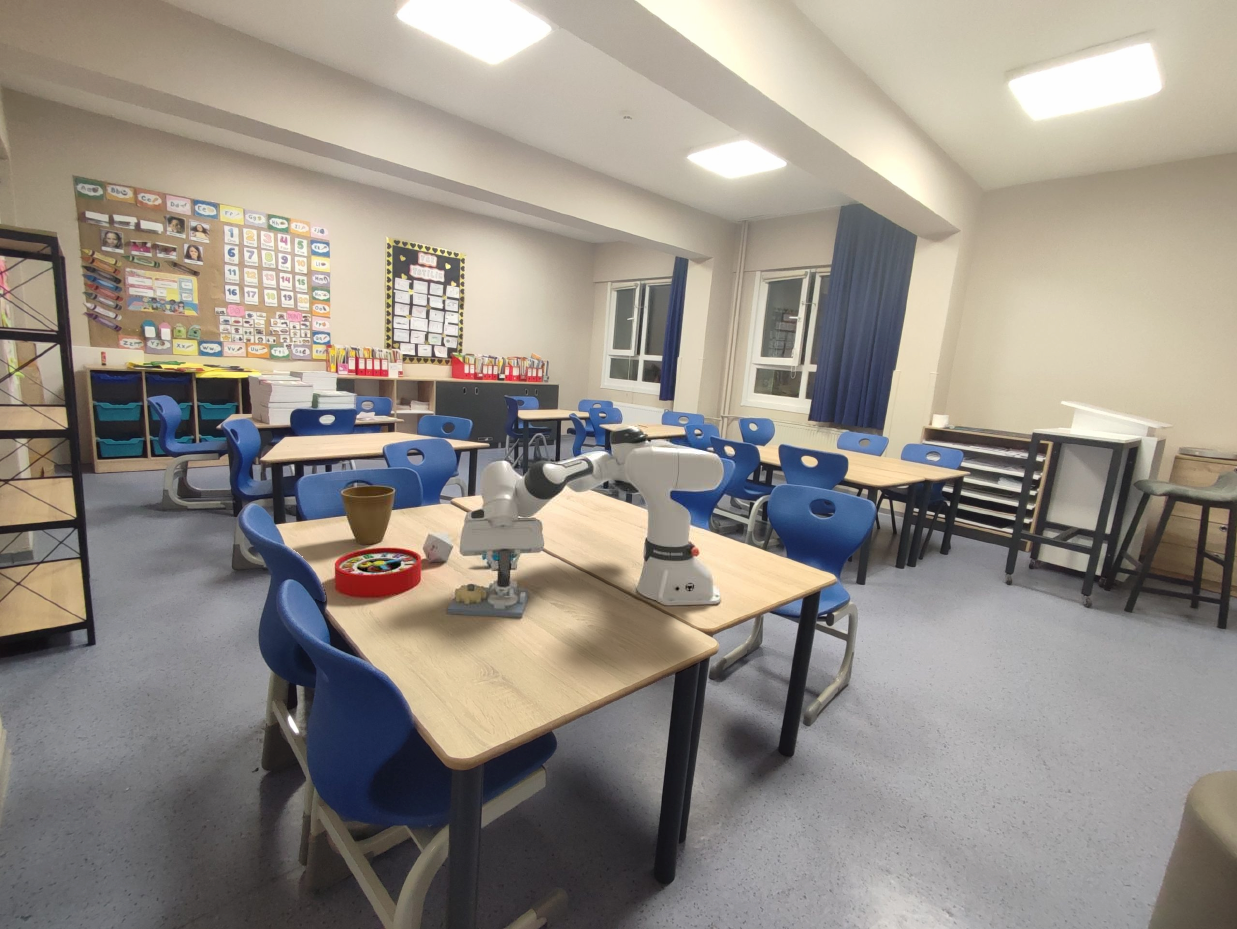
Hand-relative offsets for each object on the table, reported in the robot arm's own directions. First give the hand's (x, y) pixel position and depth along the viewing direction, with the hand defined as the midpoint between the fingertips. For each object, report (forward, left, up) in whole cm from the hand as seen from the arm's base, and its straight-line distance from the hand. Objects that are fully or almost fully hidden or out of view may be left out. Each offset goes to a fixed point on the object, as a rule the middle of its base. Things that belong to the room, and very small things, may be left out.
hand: (504, 569), depth 126 cm
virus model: (+6, -27, -9) cm, 29 cm away
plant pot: (+49, -40, -9) cm, 63 cm away
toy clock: (+33, -10, -9) cm, 36 cm away
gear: (0, -1, -6) cm, 6 cm away
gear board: (+3, 0, -9) cm, 9 cm away
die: (+24, -27, -9) cm, 37 cm away
